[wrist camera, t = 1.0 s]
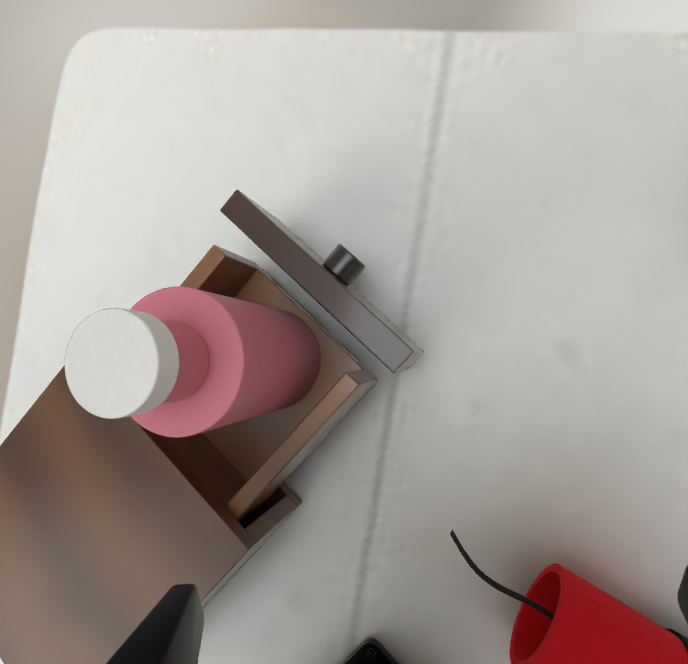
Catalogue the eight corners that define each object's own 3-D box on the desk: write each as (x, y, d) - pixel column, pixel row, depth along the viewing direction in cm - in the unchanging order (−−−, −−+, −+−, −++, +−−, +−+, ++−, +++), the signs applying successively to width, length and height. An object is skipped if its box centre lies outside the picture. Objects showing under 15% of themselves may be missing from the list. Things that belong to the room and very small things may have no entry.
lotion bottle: (274, 430, 24) (111, 496, 13) (209, 361, 25) (4, 367, 14) (341, 356, 23) (228, 358, 12) (270, 288, 24) (108, 233, 13)
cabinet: (163, 352, 28) (74, 351, 22) (302, 501, 26) (249, 550, 19) (38, 503, 30) (-80, 544, 23) (157, 657, 27) (63, 750, 21)
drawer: (292, 200, 26) (254, 167, 21) (441, 333, 23) (435, 328, 19) (146, 376, 27) (81, 381, 23) (272, 515, 25) (228, 552, 20)
